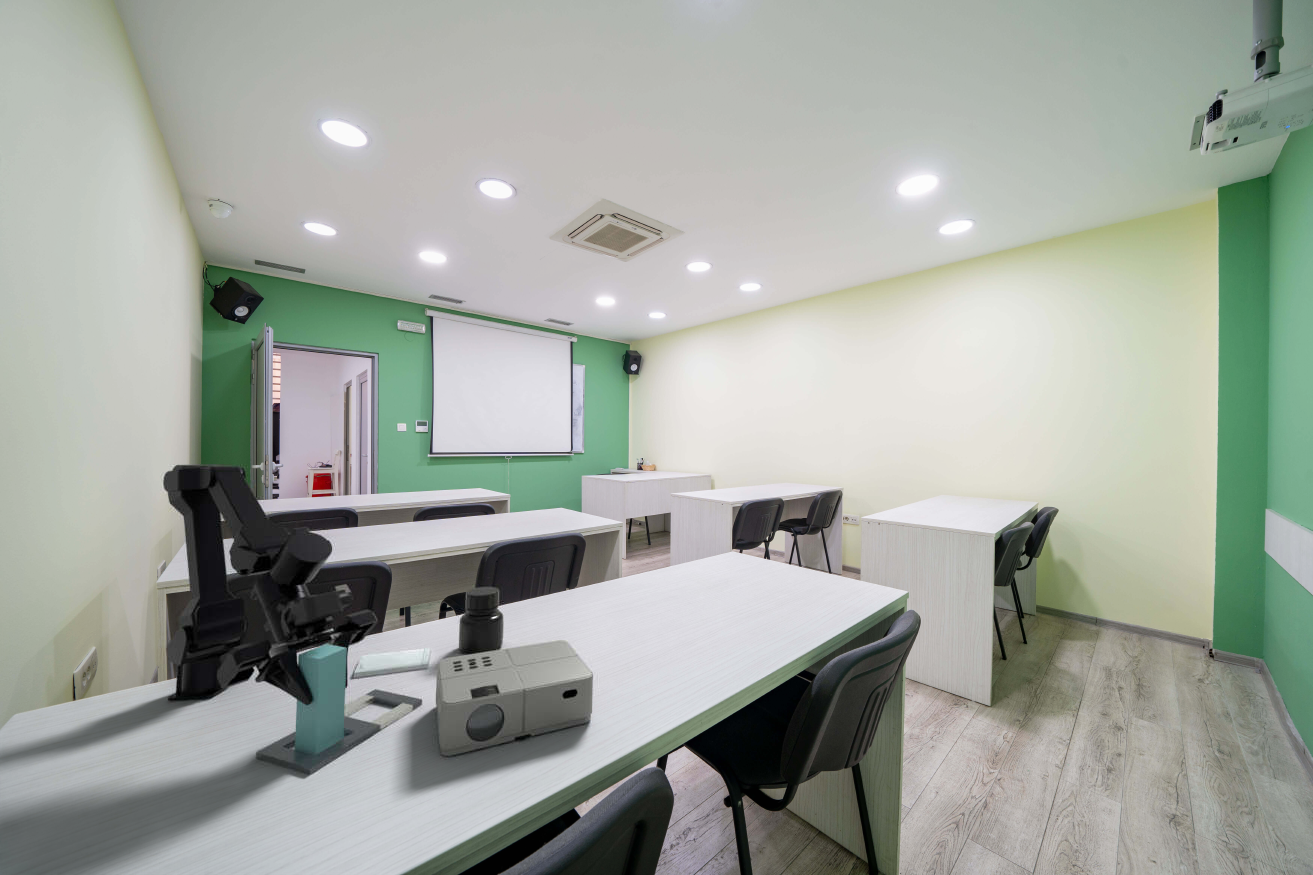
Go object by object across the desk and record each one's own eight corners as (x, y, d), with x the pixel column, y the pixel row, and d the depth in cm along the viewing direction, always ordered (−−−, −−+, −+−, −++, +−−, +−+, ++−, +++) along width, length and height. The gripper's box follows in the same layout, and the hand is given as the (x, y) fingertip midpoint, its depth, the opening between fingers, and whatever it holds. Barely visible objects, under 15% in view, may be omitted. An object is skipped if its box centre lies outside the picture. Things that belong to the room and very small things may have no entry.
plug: (294, 749, 66) (298, 654, 66) (323, 733, 70) (326, 643, 70) (316, 755, 65) (319, 659, 65) (343, 739, 68) (346, 647, 69)
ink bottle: (509, 639, 107) (511, 585, 107) (497, 656, 98) (499, 597, 98) (465, 639, 106) (467, 585, 107) (449, 656, 97) (451, 596, 98)
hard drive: (353, 672, 87) (428, 662, 92) (362, 654, 95) (431, 646, 100) (353, 681, 87) (428, 670, 92) (362, 663, 95) (431, 654, 99)
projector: (435, 705, 79) (436, 657, 79) (565, 680, 89) (566, 637, 89) (439, 764, 64) (441, 705, 64) (595, 725, 74) (596, 674, 74)
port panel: (310, 774, 61) (310, 768, 61) (255, 757, 64) (256, 751, 64) (421, 704, 78) (422, 699, 79) (375, 693, 82) (375, 689, 82)
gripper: (233, 585, 61) (275, 692, 56) (373, 559, 78) (416, 639, 73) (200, 636, 65) (237, 742, 59) (341, 600, 81) (380, 680, 76)
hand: (327, 695), depth 67 cm, fingers closed on plug, 4 cm apart
